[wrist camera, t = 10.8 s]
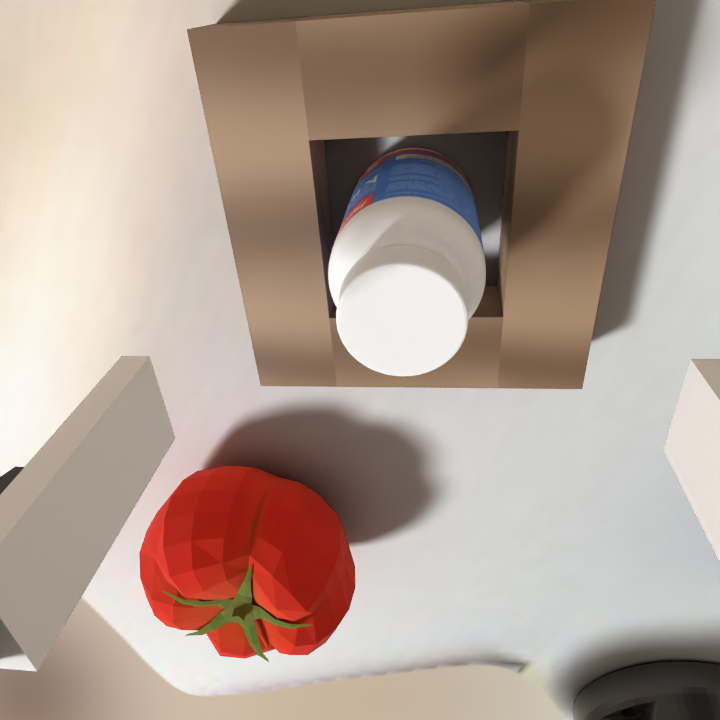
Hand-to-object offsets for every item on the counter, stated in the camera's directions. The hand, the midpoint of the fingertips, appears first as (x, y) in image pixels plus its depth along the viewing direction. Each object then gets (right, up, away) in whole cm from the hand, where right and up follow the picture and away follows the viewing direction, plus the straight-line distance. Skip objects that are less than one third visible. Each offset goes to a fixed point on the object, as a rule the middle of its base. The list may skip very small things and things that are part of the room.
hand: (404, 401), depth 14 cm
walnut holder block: (+1, +8, +10) cm, 13 cm away
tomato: (-7, -9, +23) cm, 26 cm away
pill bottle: (+1, +8, +11) cm, 13 cm away
